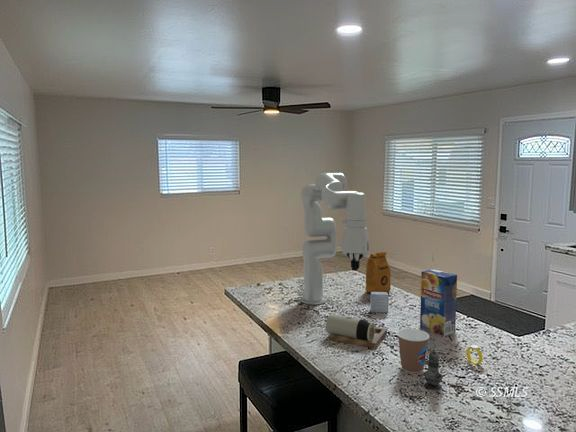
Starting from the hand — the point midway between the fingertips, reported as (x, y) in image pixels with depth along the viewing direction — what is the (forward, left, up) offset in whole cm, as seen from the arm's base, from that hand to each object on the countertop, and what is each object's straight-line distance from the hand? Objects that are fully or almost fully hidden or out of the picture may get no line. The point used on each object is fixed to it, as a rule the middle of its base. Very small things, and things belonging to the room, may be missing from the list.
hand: (355, 269), depth 169 cm
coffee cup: (+27, -19, -27) cm, 43 cm away
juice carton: (+29, +21, -27) cm, 45 cm away
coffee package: (-8, +63, -27) cm, 69 cm away
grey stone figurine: (+35, -28, -27) cm, 52 cm away
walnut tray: (+1, -1, -27) cm, 27 cm away
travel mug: (-10, -4, -23) cm, 25 cm away
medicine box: (+1, +33, -27) cm, 43 cm away
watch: (+45, -5, -27) cm, 53 cm away
